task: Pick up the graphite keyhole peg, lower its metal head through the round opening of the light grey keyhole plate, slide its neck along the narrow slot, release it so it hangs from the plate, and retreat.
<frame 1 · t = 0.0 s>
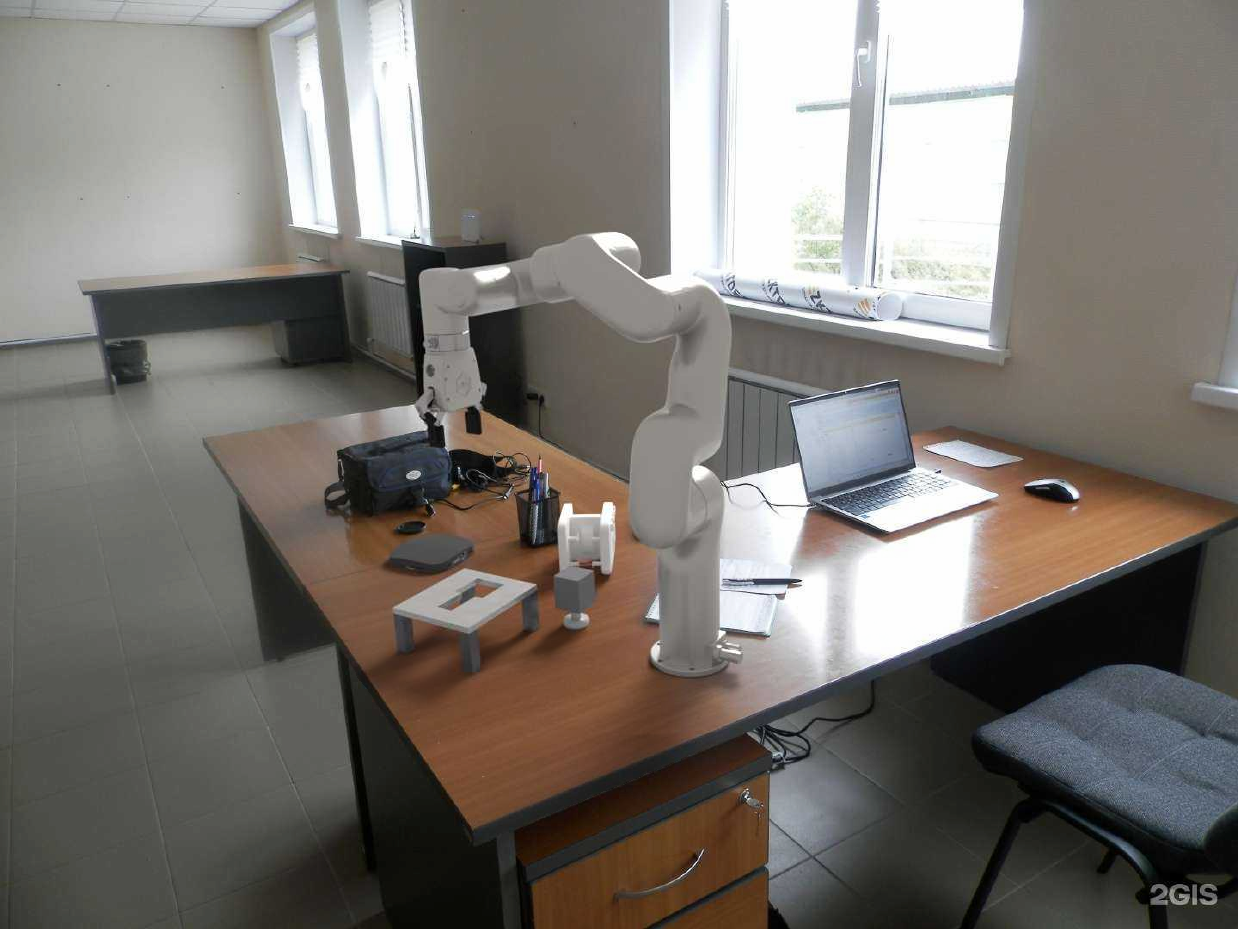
hand: (456, 440, 156), 31 cm above the table, tool pointing down, fingers open, 9 cm apart
cable organizer: (589, 566, 181), on the table
keyhole stand: (470, 639, 152), on the table
peg: (576, 623, 156), on the table
media streaming box: (433, 559, 188), on the table
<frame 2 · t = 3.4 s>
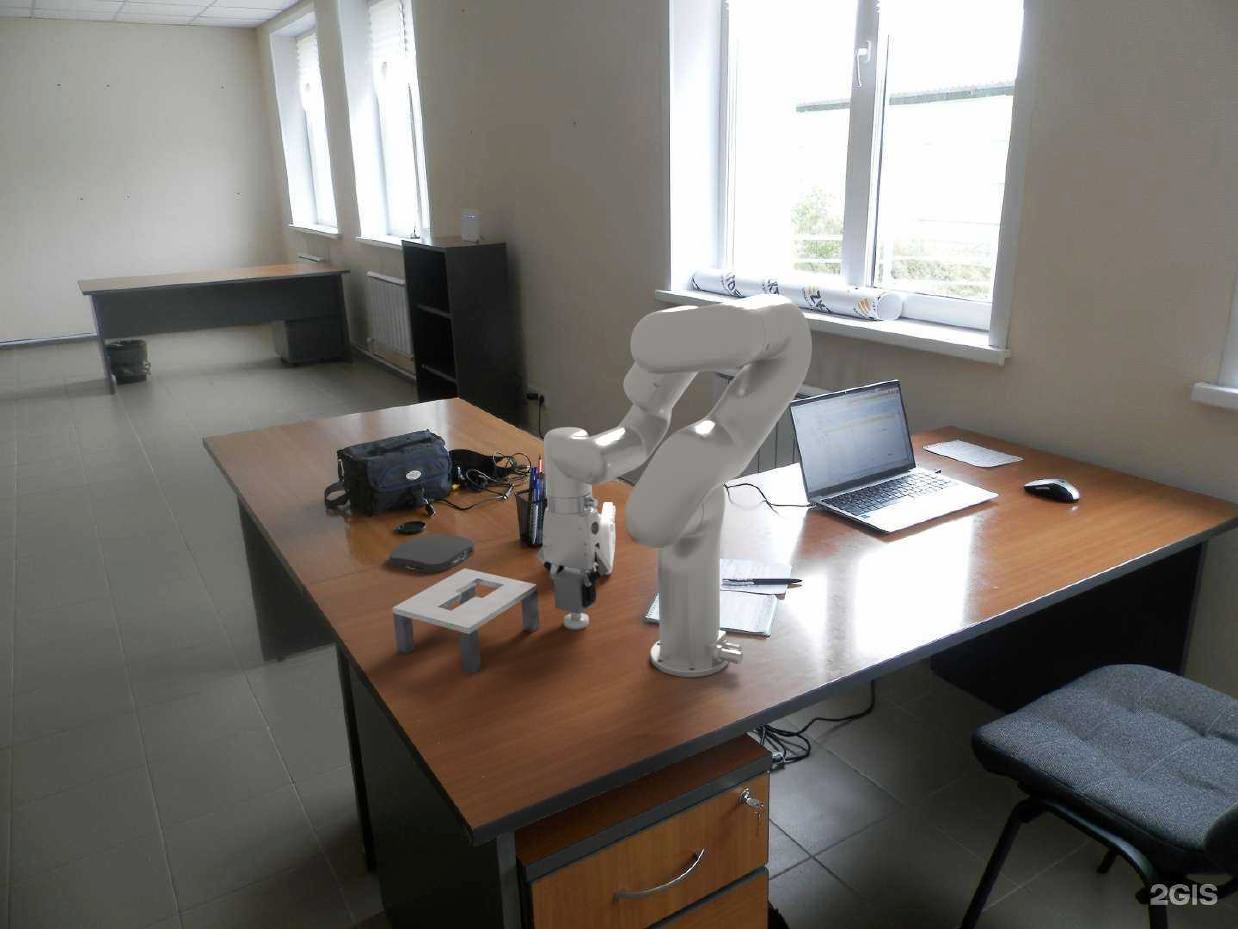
hand: (575, 600, 155), 4 cm above the table, tool pointing down, fingers closed on peg, 5 cm apart
peg: (576, 623, 156), on the table, touching gripper
everything else where it was.
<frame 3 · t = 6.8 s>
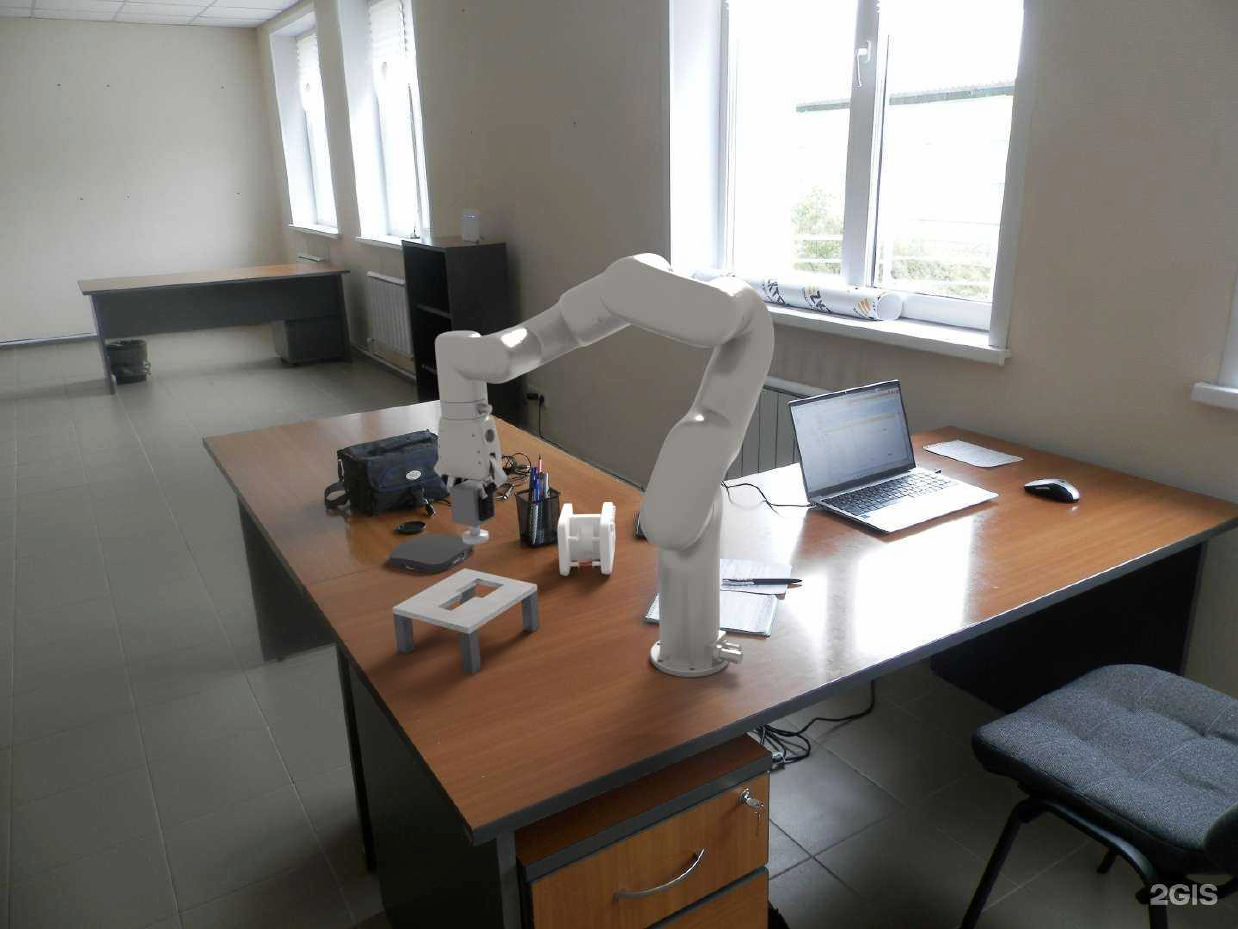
hand: (473, 514, 149), 21 cm above the table, tool pointing down, fingers closed on peg, 5 cm apart
peg: (475, 539, 150), point 17 cm above the table, touching gripper
everything else where it was.
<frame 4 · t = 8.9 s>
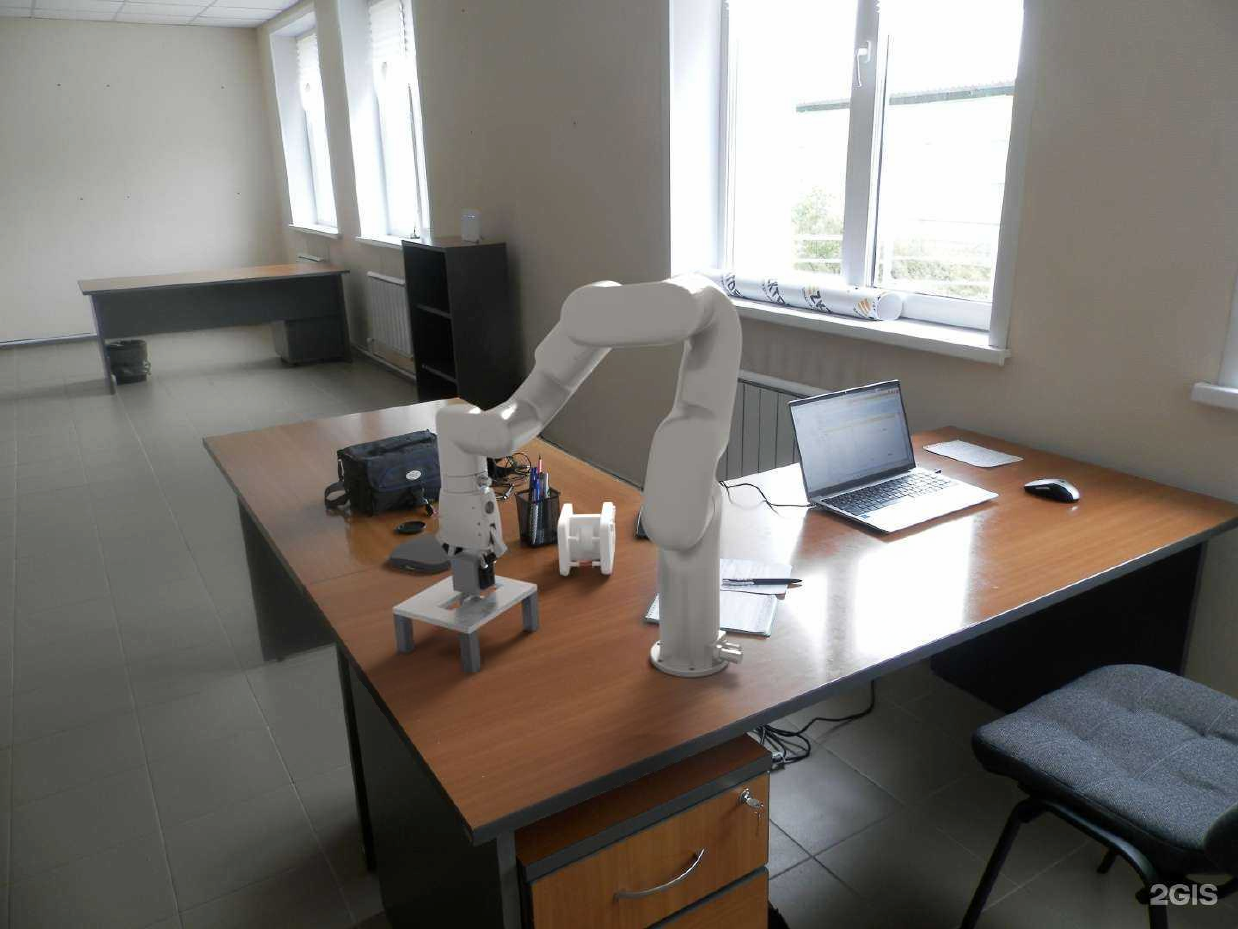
hand: (473, 582, 151), 10 cm above the table, tool pointing down, fingers closed on peg, 5 cm apart
peg: (476, 606, 152), point 5 cm above the table, touching gripper
everything else where it was.
when the fingers open (10 cm above the table, at t = 10.4 s): peg stays where it is, resting on keyhole stand.
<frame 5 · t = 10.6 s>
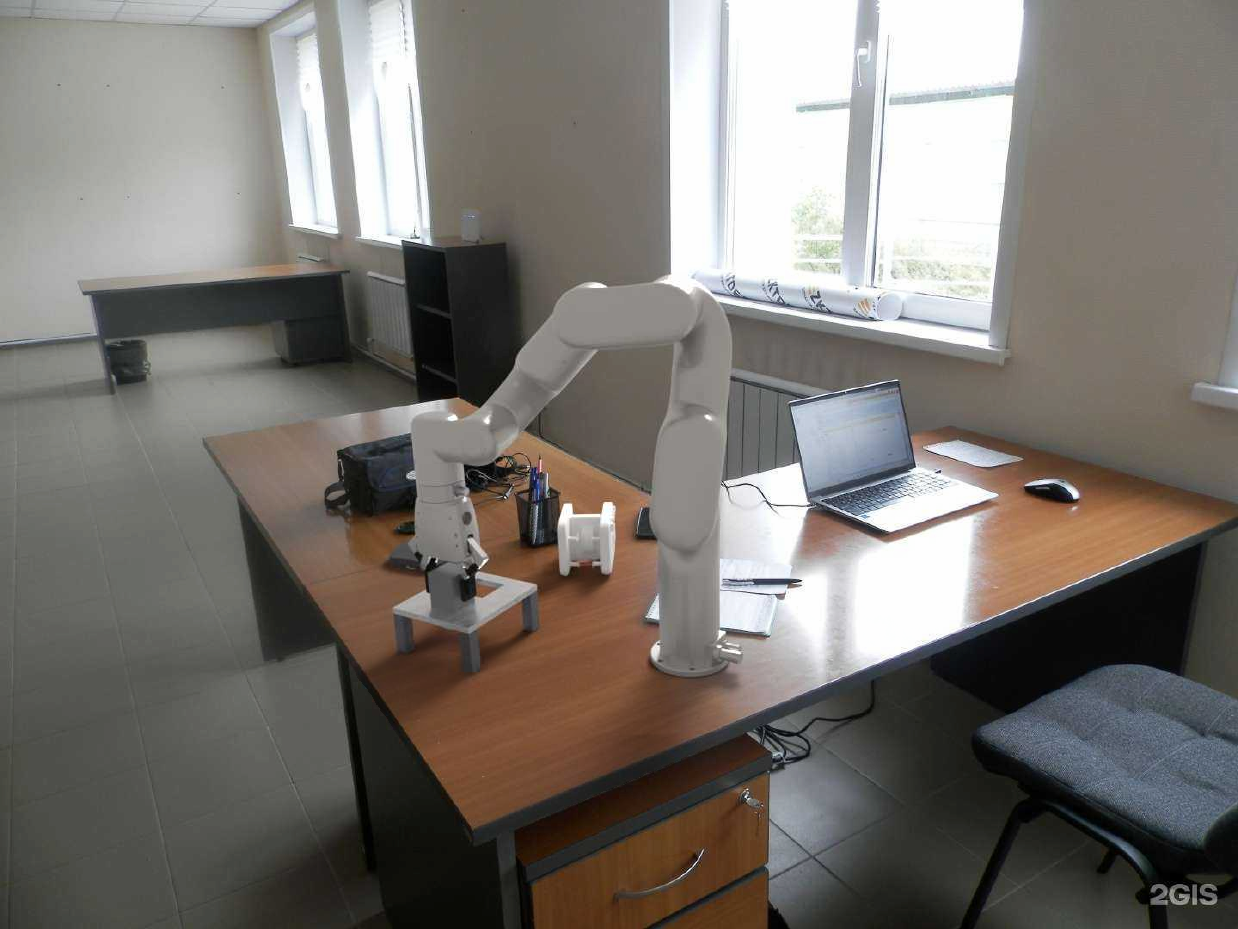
hand: (451, 593, 146), 10 cm above the table, tool pointing down, fingers open, 6 cm apart
peg: (454, 623, 148), point 4 cm above the table, touching keyhole stand
everything else where it was.
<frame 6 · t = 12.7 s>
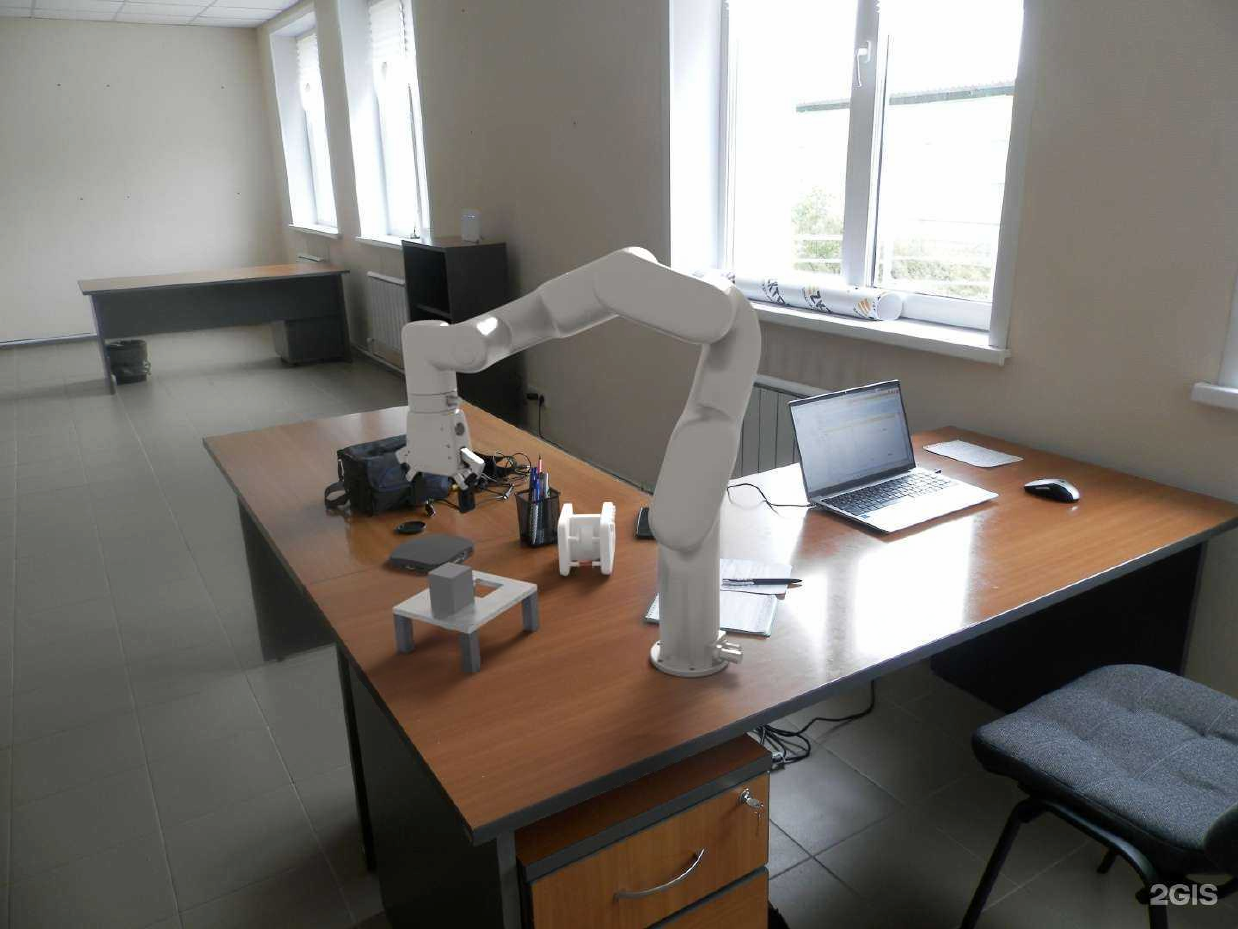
hand: (443, 506, 143), 25 cm above the table, tool pointing down, fingers open, 9 cm apart
nothing on the table moved.
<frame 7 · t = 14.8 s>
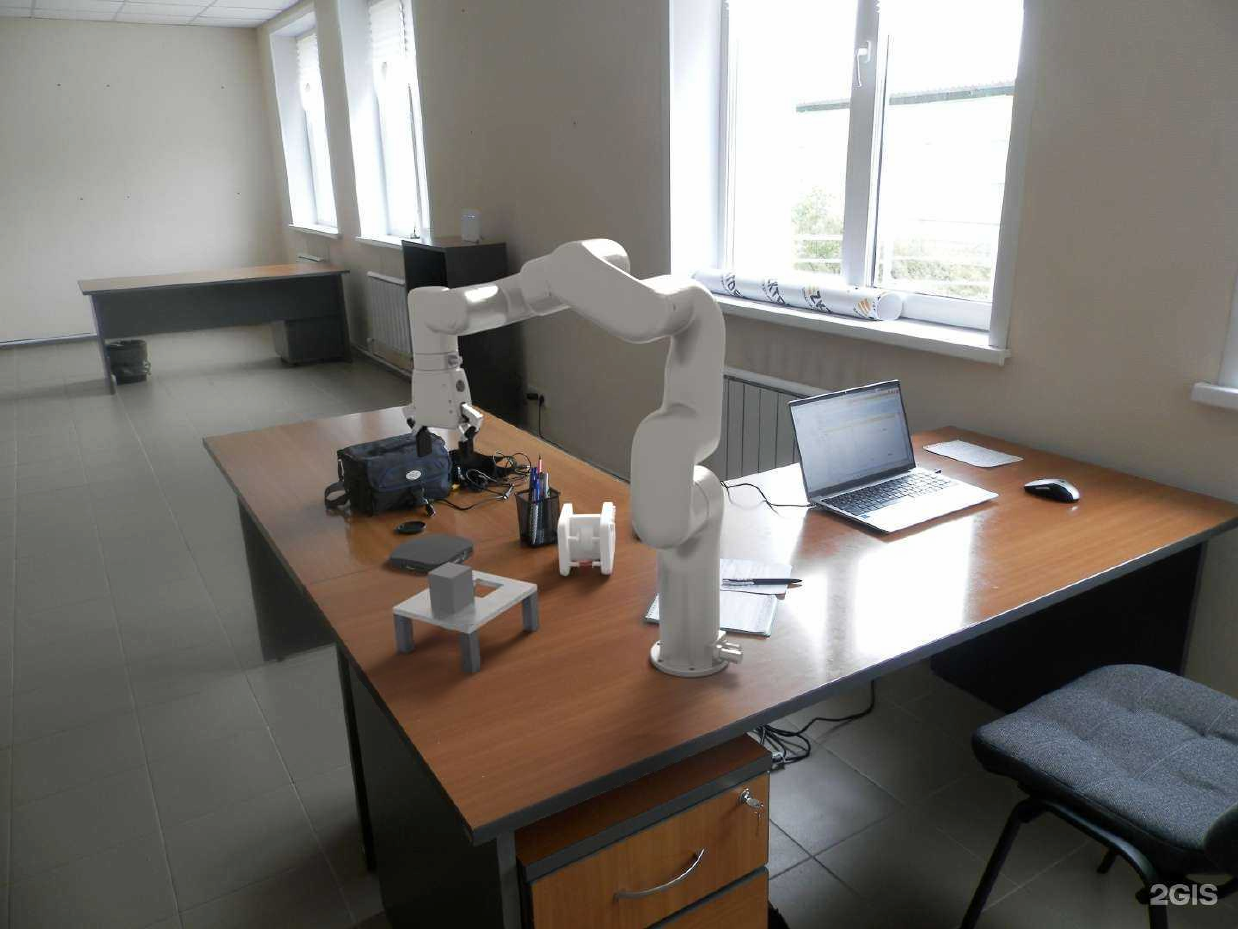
hand: (445, 458, 156), 28 cm above the table, tool pointing down, fingers open, 9 cm apart
nothing on the table moved.
at the end: peg 0.1 cm from the target spot on the keyhole stand, point 4.5 cm above the keyhole stand's base; peg tilted 0°; the gripper is holding nothing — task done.
